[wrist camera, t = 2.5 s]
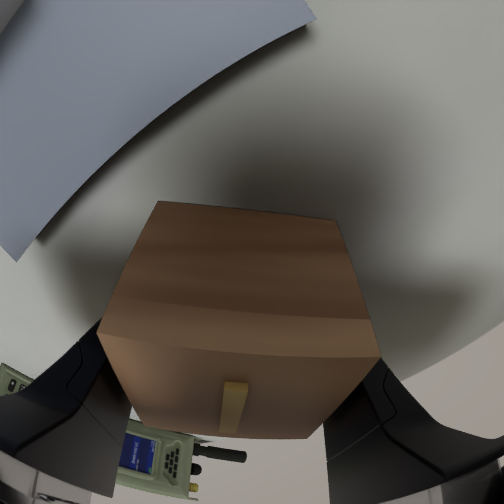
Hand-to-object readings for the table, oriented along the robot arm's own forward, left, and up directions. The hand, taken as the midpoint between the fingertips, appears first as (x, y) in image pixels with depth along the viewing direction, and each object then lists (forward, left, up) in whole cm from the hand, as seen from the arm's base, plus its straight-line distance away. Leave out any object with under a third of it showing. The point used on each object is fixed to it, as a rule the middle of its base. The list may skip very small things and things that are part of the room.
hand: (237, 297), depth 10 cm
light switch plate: (0, -12, -1) cm, 12 cm away
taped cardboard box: (0, 0, -1) cm, 1 cm away
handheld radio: (+19, +9, -1) cm, 22 cm away
